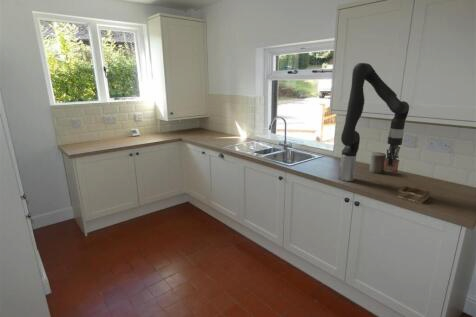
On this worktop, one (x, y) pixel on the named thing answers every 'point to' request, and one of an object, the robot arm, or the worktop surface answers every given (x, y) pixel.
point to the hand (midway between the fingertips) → (391, 164)
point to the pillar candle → (377, 162)
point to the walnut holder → (413, 194)
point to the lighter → (391, 167)
